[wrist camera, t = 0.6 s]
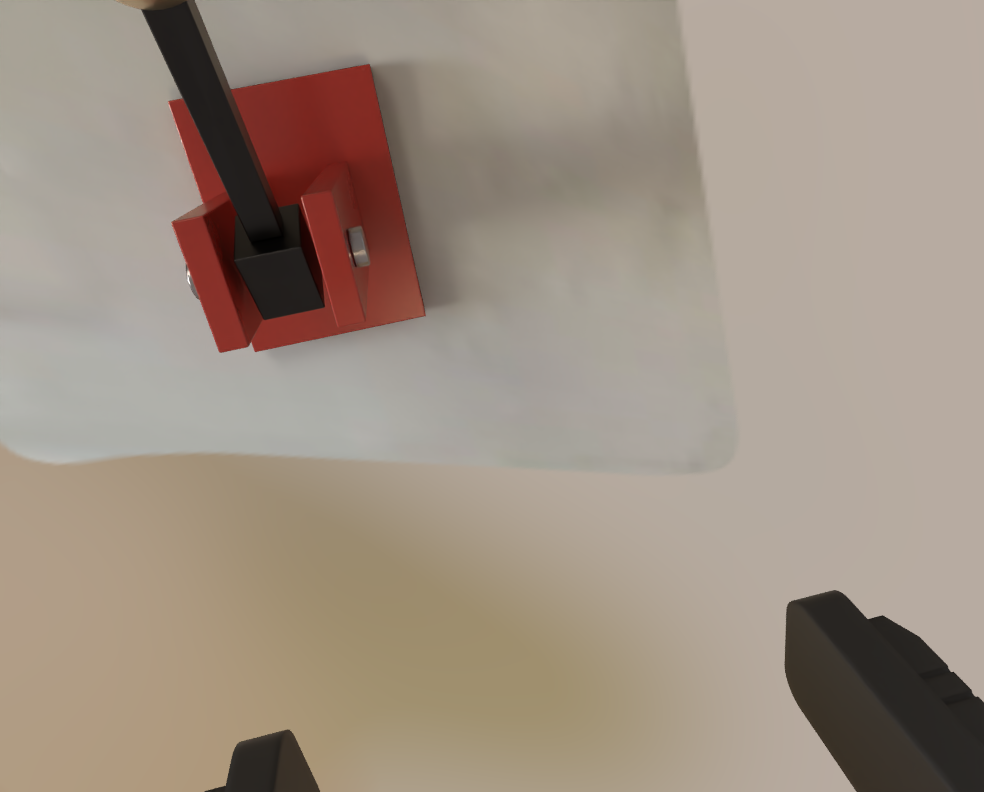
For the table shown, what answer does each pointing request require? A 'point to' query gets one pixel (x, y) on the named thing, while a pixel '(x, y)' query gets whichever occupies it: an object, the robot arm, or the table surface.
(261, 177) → the lever
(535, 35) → the table surface
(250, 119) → the bracket
